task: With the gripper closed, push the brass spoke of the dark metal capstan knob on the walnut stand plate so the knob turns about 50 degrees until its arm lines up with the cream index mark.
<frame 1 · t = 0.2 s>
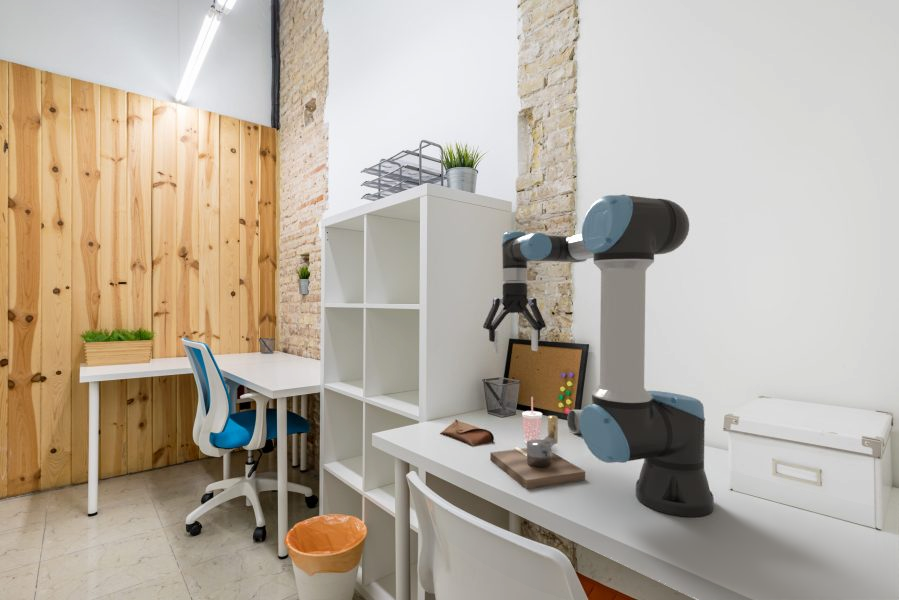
hand: (515, 351, 139), 28 cm above the table, tool pointing down, fingers open, 13 cm apart
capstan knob: (545, 439, 118), point 7 cm above the table, hinge at -50.0°
sunglasses case: (465, 439, 143), on the table
ceramic mug: (580, 432, 149), on the table
walnut stand plate: (535, 469, 116), on the table
beverage cup: (532, 443, 137), on the table
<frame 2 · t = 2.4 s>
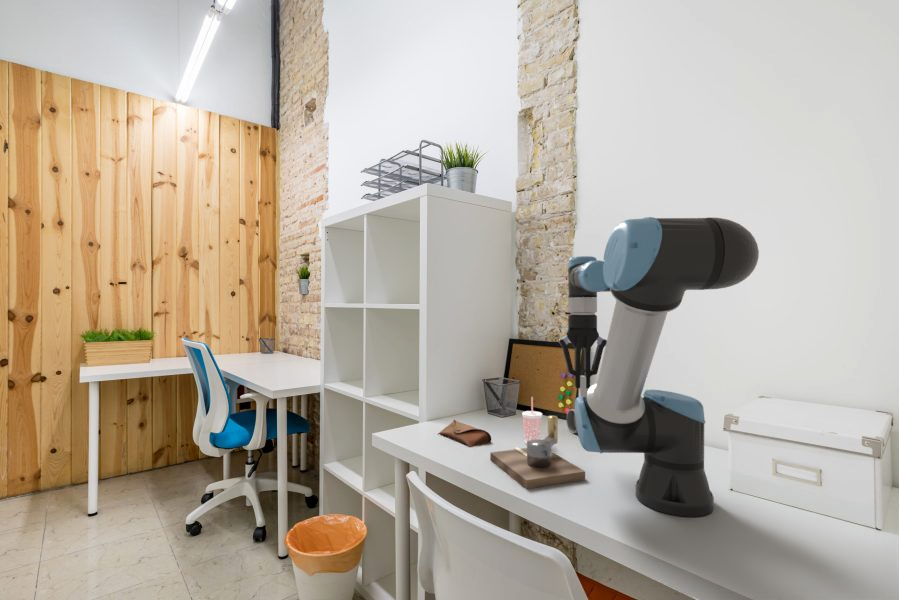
hand: (582, 400, 123), 16 cm above the table, tool pointing down, fingers closed
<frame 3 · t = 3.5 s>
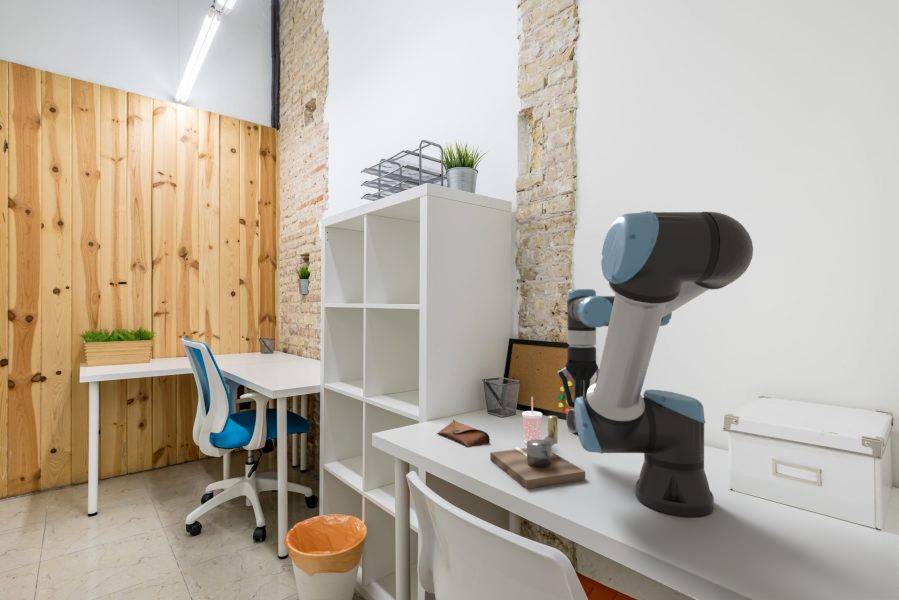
hand: (581, 432, 123), 7 cm above the table, tool pointing down, fingers closed
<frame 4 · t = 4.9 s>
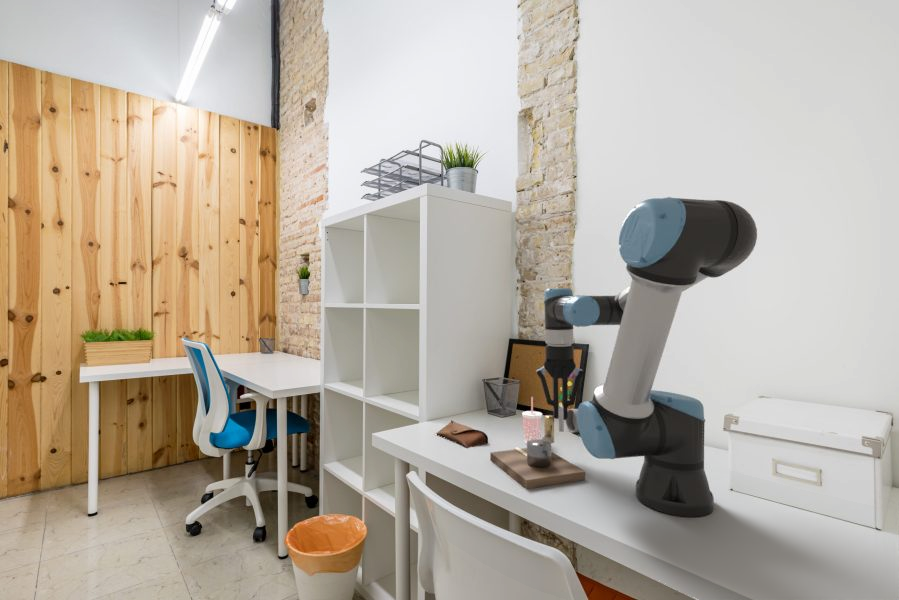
hand: (560, 429, 124), 8 cm above the table, tool pointing down, fingers closed
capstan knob: (543, 439, 118), point 7 cm above the table, hinge at -45.1°, touching gripper
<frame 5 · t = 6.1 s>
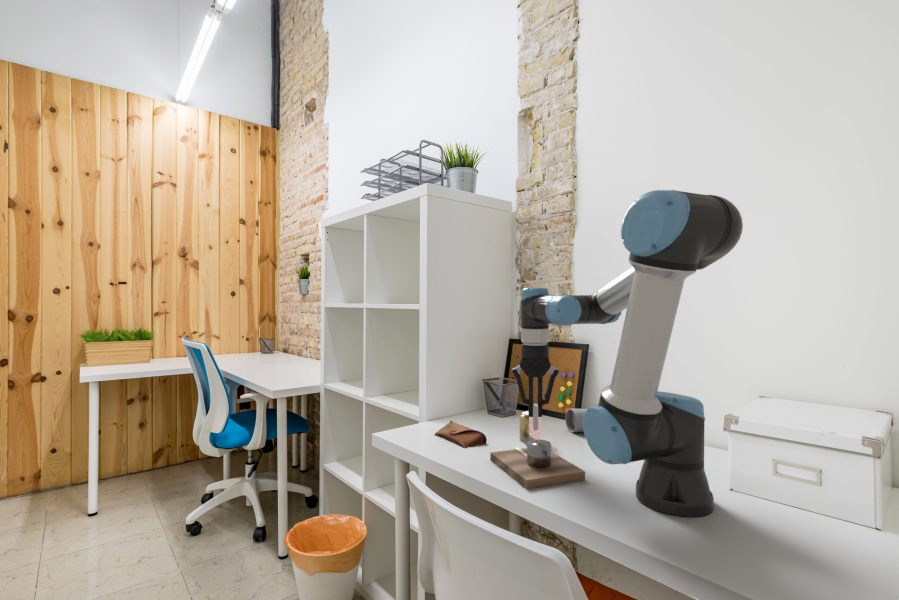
hand: (535, 428, 125), 8 cm above the table, tool pointing down, fingers closed
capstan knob: (532, 439, 119), point 7 cm above the table, hinge at -9.3°, touching gripper
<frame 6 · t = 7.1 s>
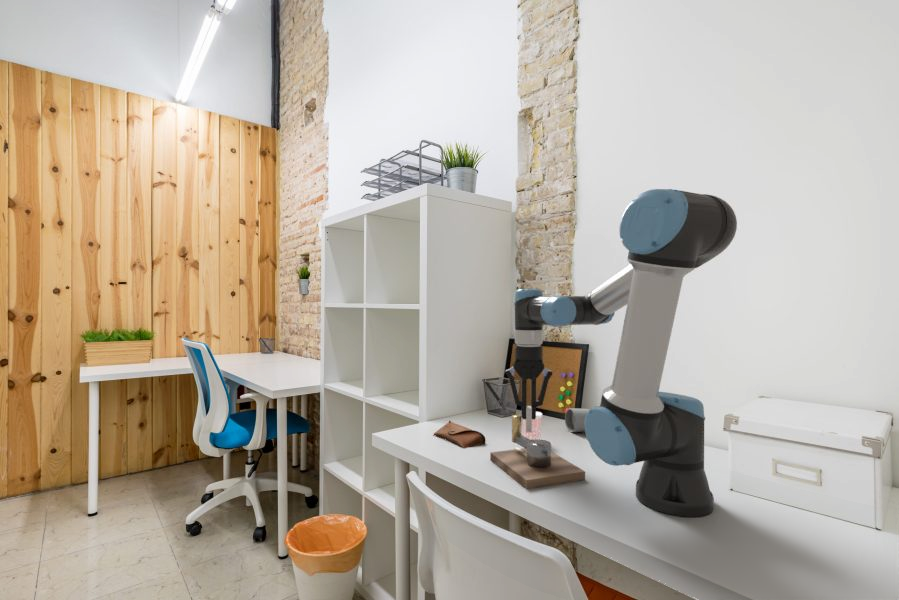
hand: (528, 430, 124), 7 cm above the table, tool pointing down, fingers closed
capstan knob: (529, 439, 118), point 7 cm above the table, hinge at 2.8°, touching gripper
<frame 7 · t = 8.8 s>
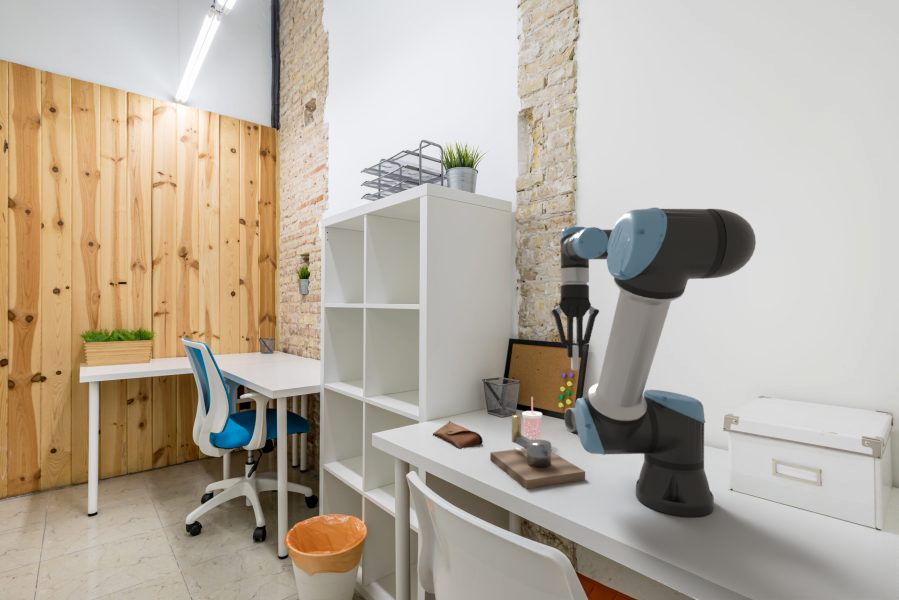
hand: (574, 369, 125), 24 cm above the table, tool pointing down, fingers closed
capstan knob: (529, 439, 118), point 7 cm above the table, hinge at 3.0°
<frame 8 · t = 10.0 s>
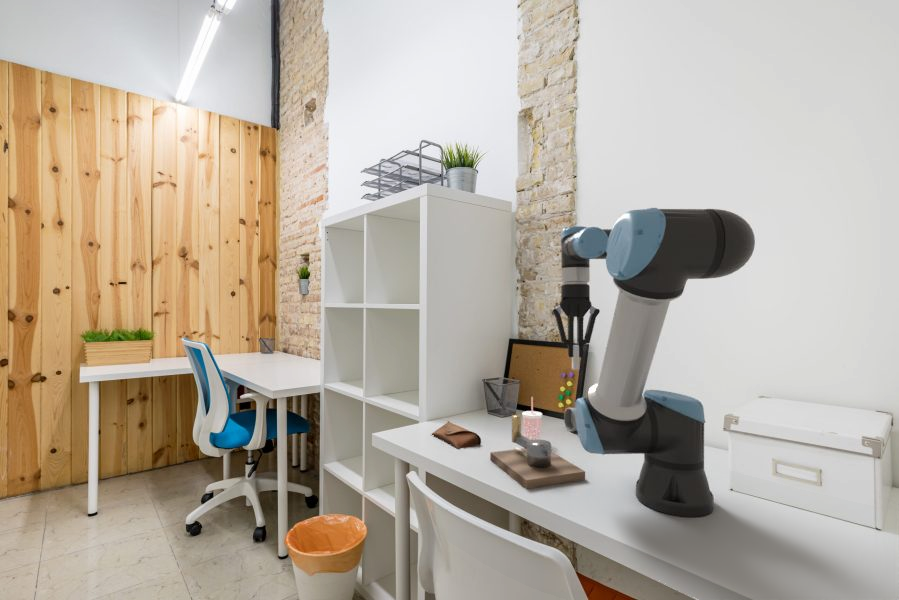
hand: (575, 368, 125), 24 cm above the table, tool pointing down, fingers closed
at the end: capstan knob at +3° (first picture: -50°); beverage cup moved 0.2 cm from its start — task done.
